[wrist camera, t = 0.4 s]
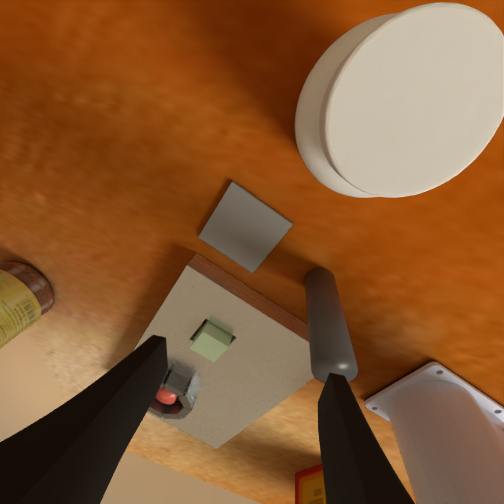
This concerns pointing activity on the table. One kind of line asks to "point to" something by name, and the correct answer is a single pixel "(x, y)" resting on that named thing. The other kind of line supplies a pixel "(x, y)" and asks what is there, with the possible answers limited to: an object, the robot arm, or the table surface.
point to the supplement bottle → (402, 101)
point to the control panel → (226, 354)
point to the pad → (211, 341)
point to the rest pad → (244, 227)
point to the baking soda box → (310, 486)
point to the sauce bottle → (21, 299)
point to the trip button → (165, 396)
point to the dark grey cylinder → (327, 328)
